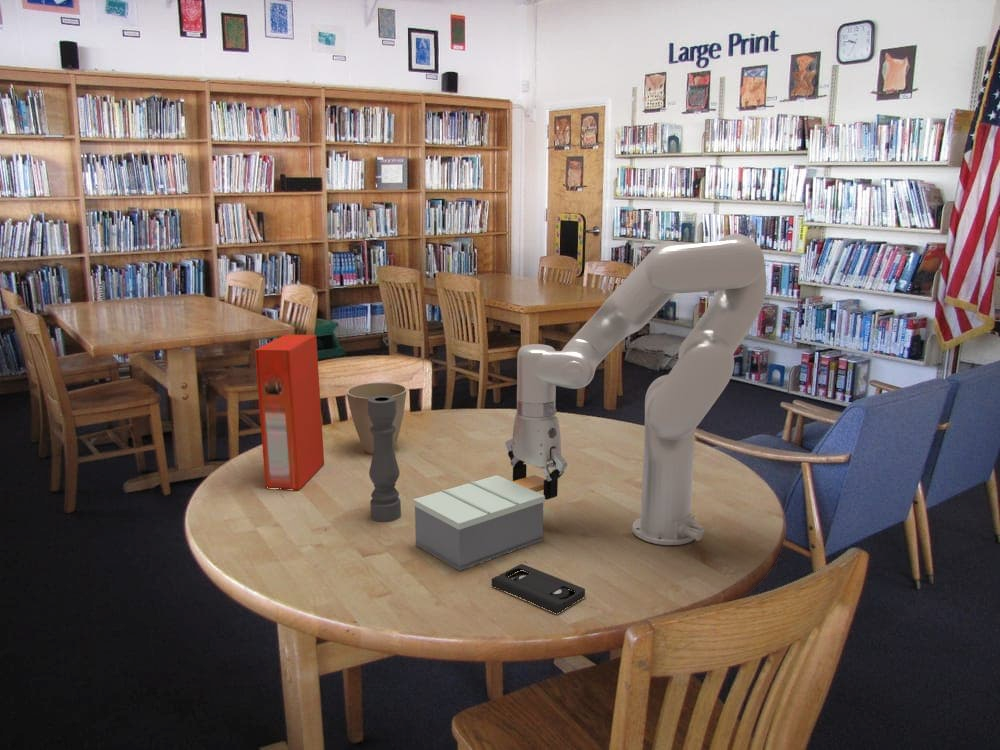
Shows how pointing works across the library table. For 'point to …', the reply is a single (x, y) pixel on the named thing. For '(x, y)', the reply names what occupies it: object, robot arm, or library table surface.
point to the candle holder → (383, 460)
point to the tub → (478, 536)
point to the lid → (482, 500)
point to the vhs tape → (539, 588)
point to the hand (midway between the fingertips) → (534, 490)
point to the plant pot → (360, 409)
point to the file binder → (290, 410)
